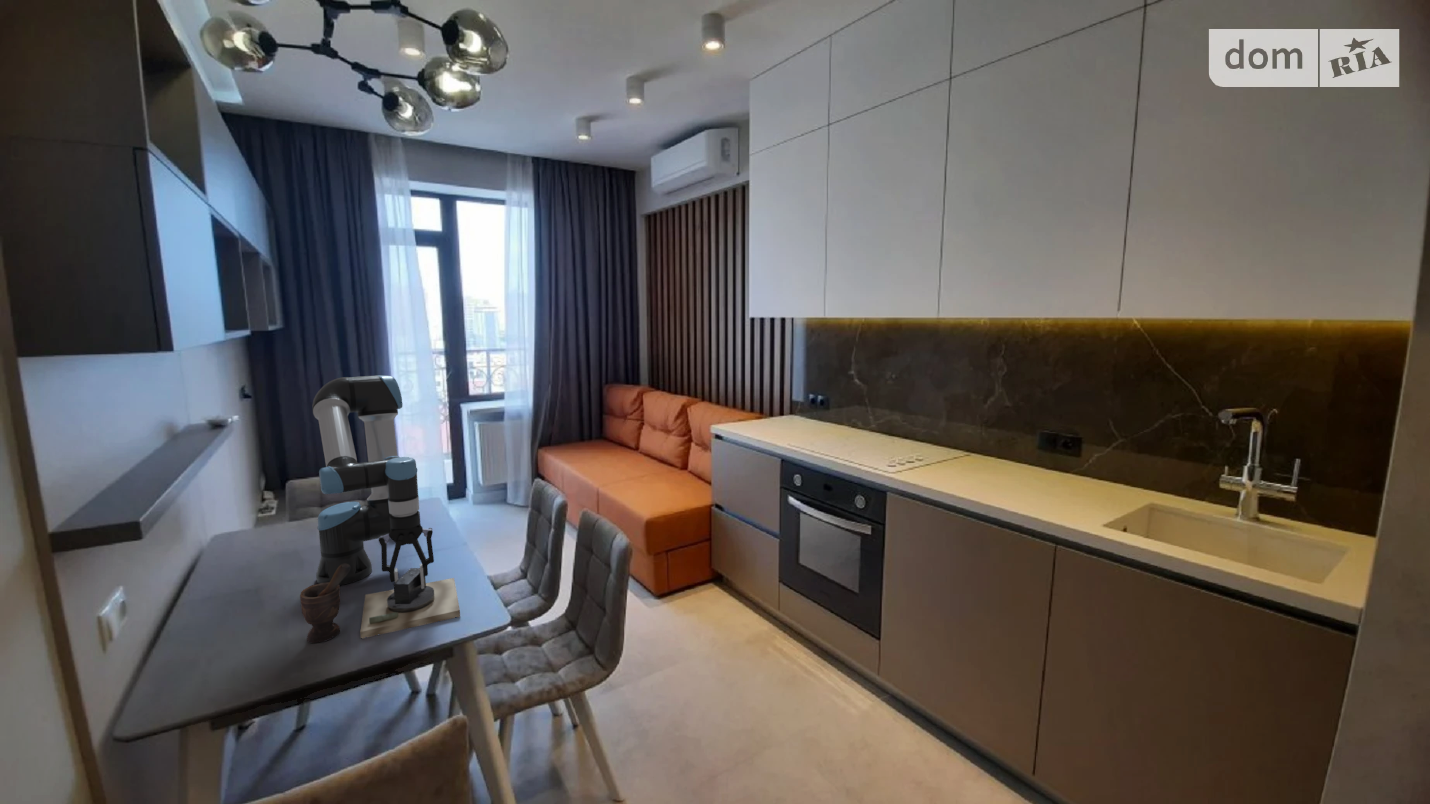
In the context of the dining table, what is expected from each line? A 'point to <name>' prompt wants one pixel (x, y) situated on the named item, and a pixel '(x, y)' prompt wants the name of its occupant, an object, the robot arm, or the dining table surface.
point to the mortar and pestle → (323, 606)
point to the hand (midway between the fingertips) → (410, 588)
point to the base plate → (386, 621)
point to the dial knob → (410, 593)
